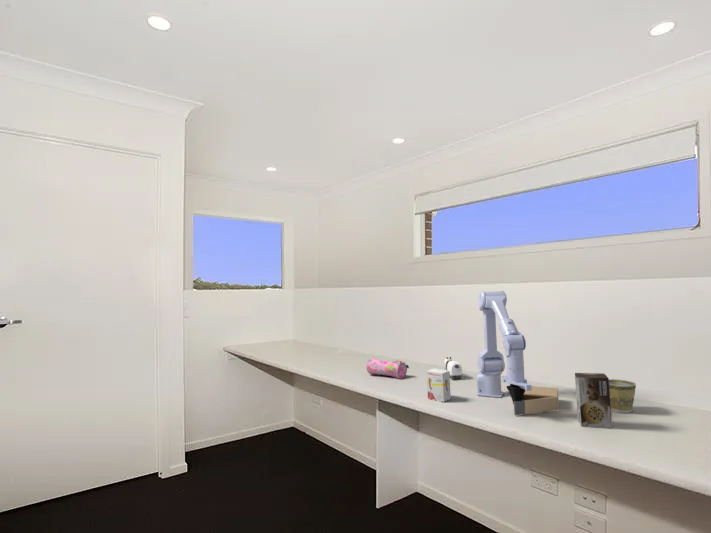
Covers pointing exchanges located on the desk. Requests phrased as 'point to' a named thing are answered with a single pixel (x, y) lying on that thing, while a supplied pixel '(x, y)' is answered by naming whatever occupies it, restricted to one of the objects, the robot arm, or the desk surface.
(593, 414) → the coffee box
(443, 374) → the ink box
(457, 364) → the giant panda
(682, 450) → the desk surface
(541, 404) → the carton flap
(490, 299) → the robot arm
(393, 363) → the pencil case
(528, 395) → the carton
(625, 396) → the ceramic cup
